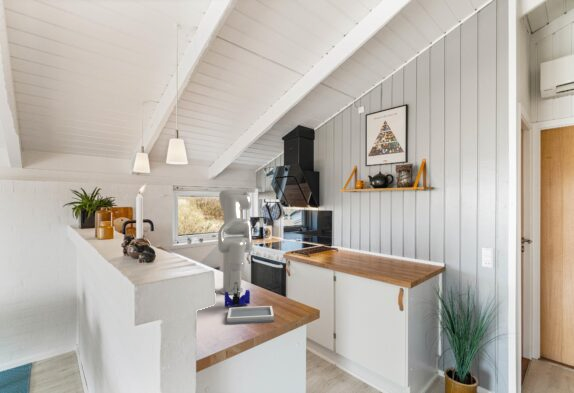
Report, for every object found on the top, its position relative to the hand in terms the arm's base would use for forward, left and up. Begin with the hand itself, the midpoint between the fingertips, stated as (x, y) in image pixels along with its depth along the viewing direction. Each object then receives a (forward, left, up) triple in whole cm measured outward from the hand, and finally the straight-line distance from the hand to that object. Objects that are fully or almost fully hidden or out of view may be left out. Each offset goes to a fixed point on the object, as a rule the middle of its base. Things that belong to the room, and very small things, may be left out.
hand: (236, 301), depth 140 cm
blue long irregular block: (0, 0, -1) cm, 1 cm away
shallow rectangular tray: (+14, +7, -2) cm, 16 cm away
